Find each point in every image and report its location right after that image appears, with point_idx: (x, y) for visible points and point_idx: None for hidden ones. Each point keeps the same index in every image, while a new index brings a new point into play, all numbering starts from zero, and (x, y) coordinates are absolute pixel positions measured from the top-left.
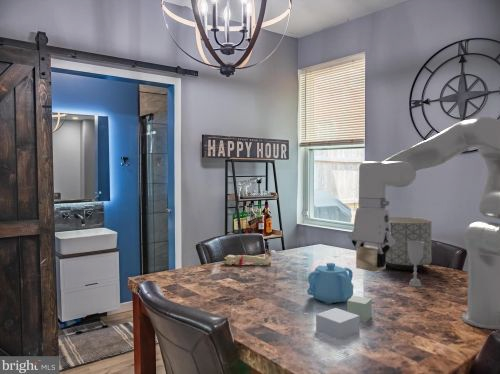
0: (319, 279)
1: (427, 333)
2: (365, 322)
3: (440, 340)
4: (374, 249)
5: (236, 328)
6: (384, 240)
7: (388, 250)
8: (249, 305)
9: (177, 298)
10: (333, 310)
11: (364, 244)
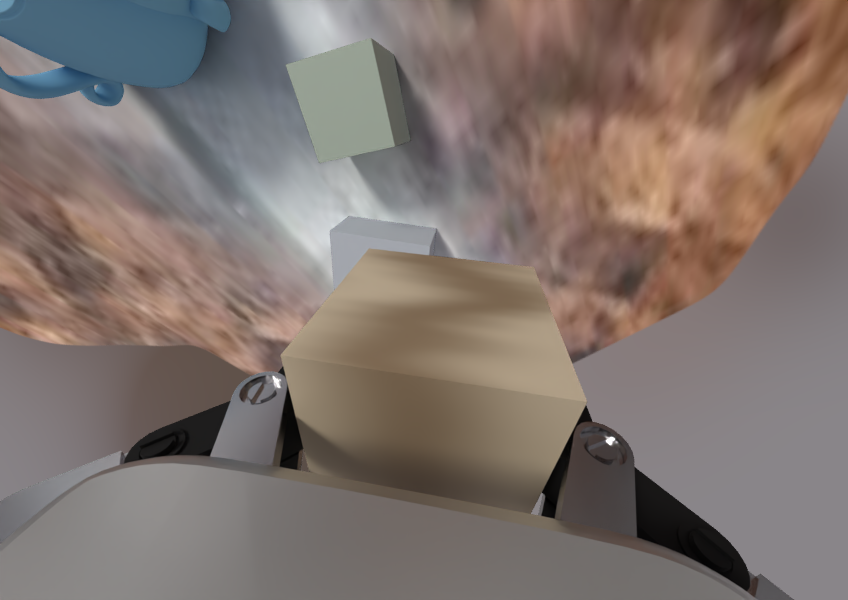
0: (49, 55)
1: (647, 62)
2: (410, 140)
3: (702, 101)
4: (486, 503)
5: (254, 374)
6: (614, 568)
7: (656, 492)
8: (126, 265)
9: (37, 332)
10: (343, 257)
11: (280, 431)
